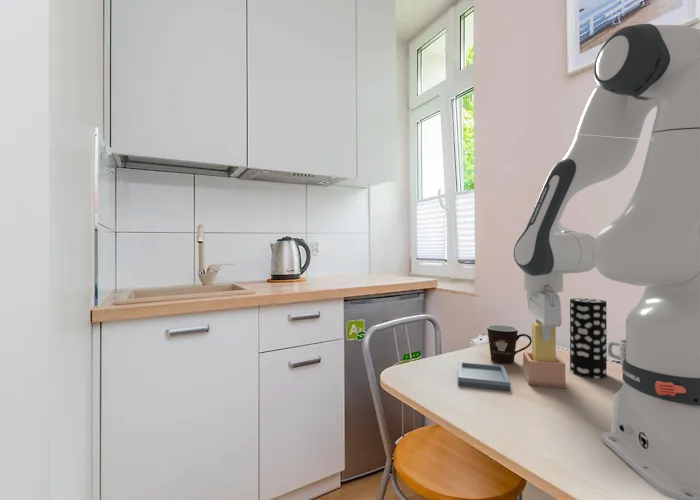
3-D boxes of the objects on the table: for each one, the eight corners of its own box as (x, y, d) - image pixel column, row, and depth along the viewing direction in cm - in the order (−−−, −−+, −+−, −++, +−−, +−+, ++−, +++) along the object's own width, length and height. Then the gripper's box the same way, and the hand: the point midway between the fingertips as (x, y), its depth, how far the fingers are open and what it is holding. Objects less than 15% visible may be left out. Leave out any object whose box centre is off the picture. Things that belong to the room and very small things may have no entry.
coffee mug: (481, 359, 108) (481, 327, 108) (496, 354, 114) (496, 323, 114) (518, 370, 99) (518, 334, 99) (533, 363, 104) (533, 330, 104)
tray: (510, 390, 84) (510, 382, 84) (458, 385, 88) (458, 377, 88) (503, 372, 97) (503, 365, 97) (458, 368, 101) (458, 361, 101)
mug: (652, 366, 102) (652, 343, 102) (643, 370, 99) (643, 346, 99) (612, 357, 111) (612, 336, 111) (602, 361, 107) (602, 339, 107)
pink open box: (565, 388, 86) (565, 364, 86) (528, 384, 88) (528, 360, 88) (556, 377, 93) (556, 354, 93) (523, 373, 96) (523, 351, 96)
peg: (555, 378, 88) (555, 326, 88) (535, 376, 89) (535, 325, 89) (551, 372, 92) (551, 323, 92) (532, 370, 93) (532, 322, 93)
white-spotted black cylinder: (594, 368, 100) (594, 298, 100) (613, 379, 92) (613, 303, 92) (564, 367, 101) (564, 298, 101) (580, 378, 93) (580, 302, 93)
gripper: (568, 288, 80) (569, 348, 80) (547, 281, 99) (548, 330, 99) (538, 287, 82) (538, 346, 82) (523, 280, 101) (523, 328, 101)
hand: (543, 337), depth 91 cm, fingers closed on peg, 4 cm apart
